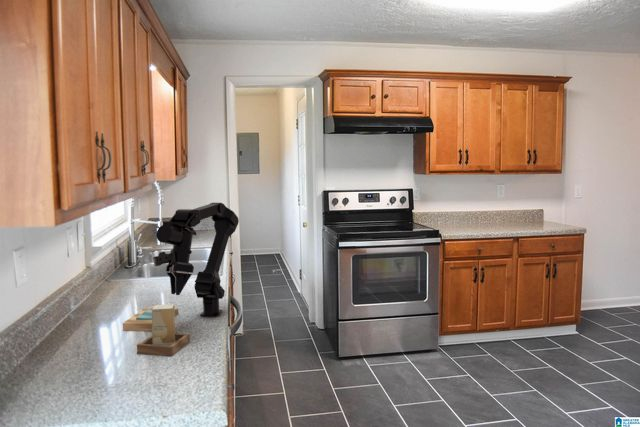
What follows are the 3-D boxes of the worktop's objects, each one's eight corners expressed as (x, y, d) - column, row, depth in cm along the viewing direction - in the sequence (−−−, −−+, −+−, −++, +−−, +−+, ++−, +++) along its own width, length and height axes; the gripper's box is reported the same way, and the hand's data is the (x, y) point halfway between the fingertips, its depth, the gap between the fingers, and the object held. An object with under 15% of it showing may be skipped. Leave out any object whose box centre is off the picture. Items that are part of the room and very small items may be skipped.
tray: (157, 339, 160) (156, 332, 159) (189, 342, 157) (189, 334, 157) (137, 353, 149) (136, 344, 149) (171, 355, 146) (171, 347, 146)
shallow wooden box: (146, 313, 187) (146, 304, 186) (178, 314, 185) (178, 305, 185) (123, 330, 169) (122, 320, 169) (157, 331, 168) (157, 321, 167)
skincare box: (152, 349, 150) (150, 309, 149) (154, 344, 155) (152, 305, 153) (175, 347, 152) (173, 307, 150) (176, 342, 156) (174, 303, 154)
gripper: (153, 245, 173) (146, 291, 171) (160, 241, 157) (153, 293, 154) (186, 249, 178) (180, 294, 175) (197, 246, 161) (190, 296, 158)
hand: (175, 294), depth 166 cm, fingers open, 9 cm apart
